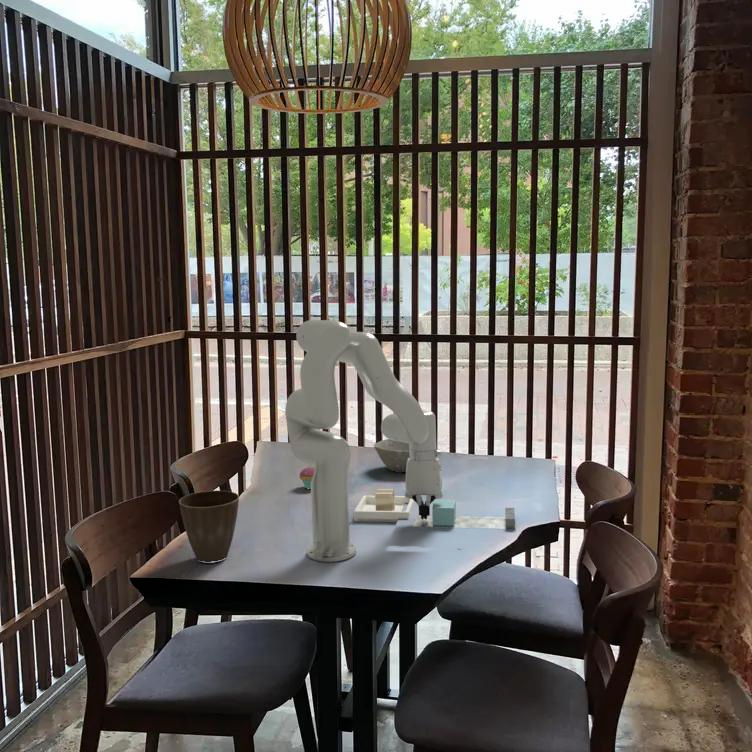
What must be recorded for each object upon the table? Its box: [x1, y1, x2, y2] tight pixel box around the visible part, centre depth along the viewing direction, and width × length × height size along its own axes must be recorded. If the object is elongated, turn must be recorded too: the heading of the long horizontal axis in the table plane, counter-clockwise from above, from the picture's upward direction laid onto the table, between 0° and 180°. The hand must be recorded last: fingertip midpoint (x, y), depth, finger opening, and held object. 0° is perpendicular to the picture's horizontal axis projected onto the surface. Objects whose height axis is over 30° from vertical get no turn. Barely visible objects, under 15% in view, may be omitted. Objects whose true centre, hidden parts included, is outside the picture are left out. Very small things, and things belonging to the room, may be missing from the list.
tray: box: [353, 495, 416, 523], centre depth 224 cm, size 16×16×3 cm
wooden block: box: [374, 488, 396, 511], centre depth 224 cm, size 5×5×6 cm
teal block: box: [431, 498, 457, 526], centre depth 211 cm, size 8×6×5 cm
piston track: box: [412, 507, 516, 530], centre depth 211 cm, size 10×28×4 cm, turn 81°
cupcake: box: [299, 466, 315, 489], centre depth 254 cm, size 9×8×12 cm
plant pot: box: [178, 490, 240, 562], centre depth 191 cm, size 15×15×16 cm
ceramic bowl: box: [373, 438, 437, 473], centre depth 274 cm, size 22×23×10 cm
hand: (424, 517), depth 213 cm, fingers closed
